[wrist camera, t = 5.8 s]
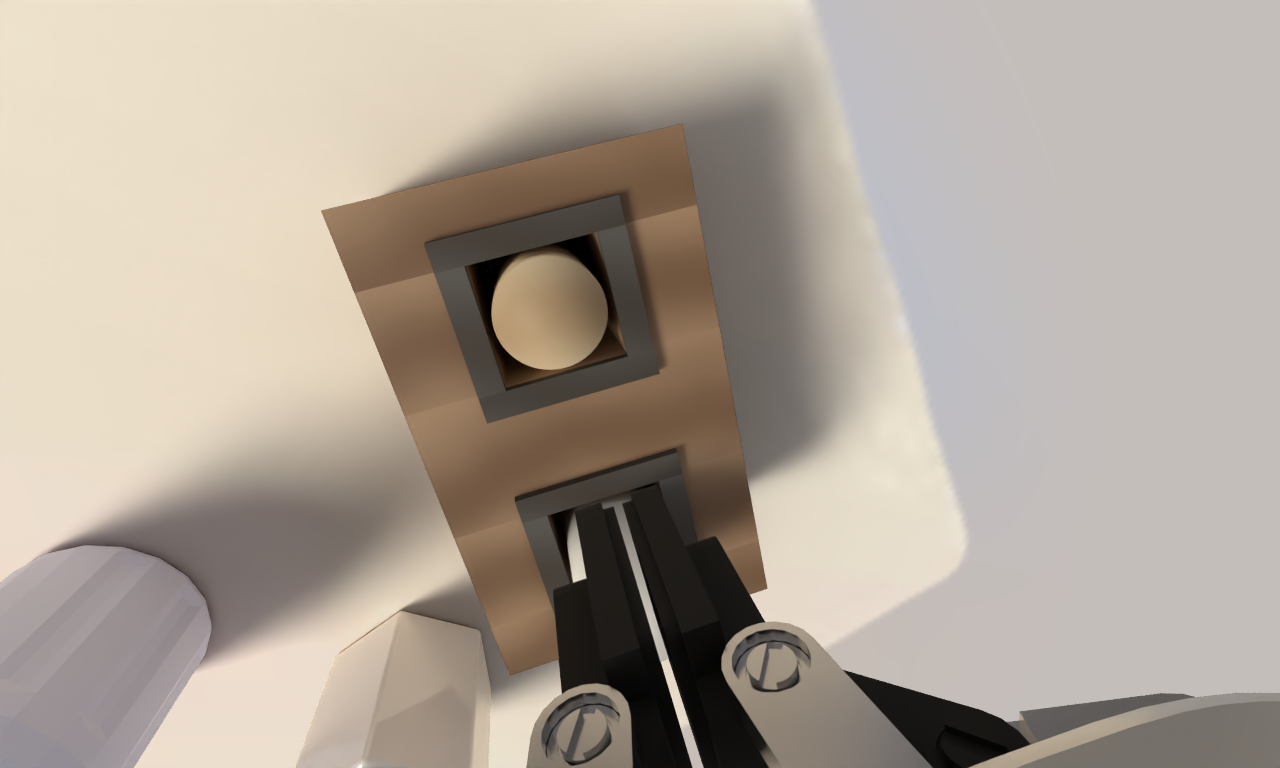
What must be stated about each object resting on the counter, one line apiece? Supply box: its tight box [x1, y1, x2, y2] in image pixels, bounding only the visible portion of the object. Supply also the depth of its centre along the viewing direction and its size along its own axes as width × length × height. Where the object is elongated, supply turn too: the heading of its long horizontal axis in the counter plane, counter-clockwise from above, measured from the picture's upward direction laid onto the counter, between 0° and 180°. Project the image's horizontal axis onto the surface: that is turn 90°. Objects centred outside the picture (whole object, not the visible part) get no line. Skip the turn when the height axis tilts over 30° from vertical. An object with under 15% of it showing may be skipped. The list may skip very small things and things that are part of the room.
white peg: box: [562, 486, 668, 662], centre depth 24 cm, size 4×4×8 cm
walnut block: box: [321, 124, 767, 675], centre depth 27 cm, size 20×12×8 cm, turn 13°
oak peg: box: [492, 241, 608, 370], centre depth 25 cm, size 4×4×8 cm
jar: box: [295, 611, 491, 768], centre depth 29 cm, size 9×8×12 cm
